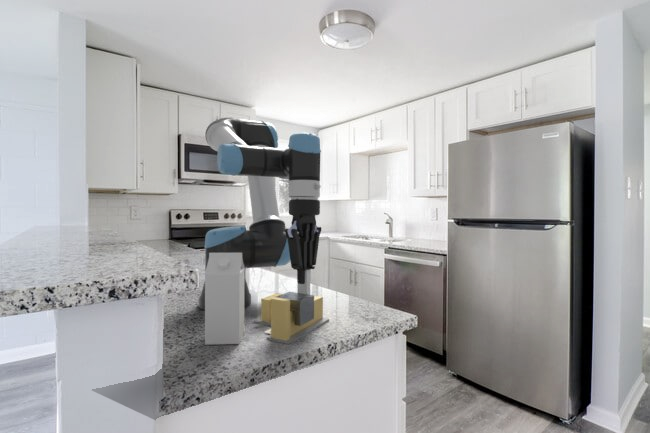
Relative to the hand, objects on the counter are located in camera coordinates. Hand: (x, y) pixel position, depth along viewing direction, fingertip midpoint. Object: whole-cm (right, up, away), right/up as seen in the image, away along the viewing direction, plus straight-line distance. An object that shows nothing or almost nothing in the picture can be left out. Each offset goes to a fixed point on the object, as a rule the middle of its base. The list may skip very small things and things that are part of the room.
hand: (303, 296), depth 83 cm
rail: (-1, -8, -1) cm, 8 cm away
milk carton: (-17, -8, -8) cm, 20 cm away
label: (-6, -8, -2) cm, 10 cm away
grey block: (-2, -5, -4) cm, 6 cm away
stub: (-8, -7, +6) cm, 13 cm away
